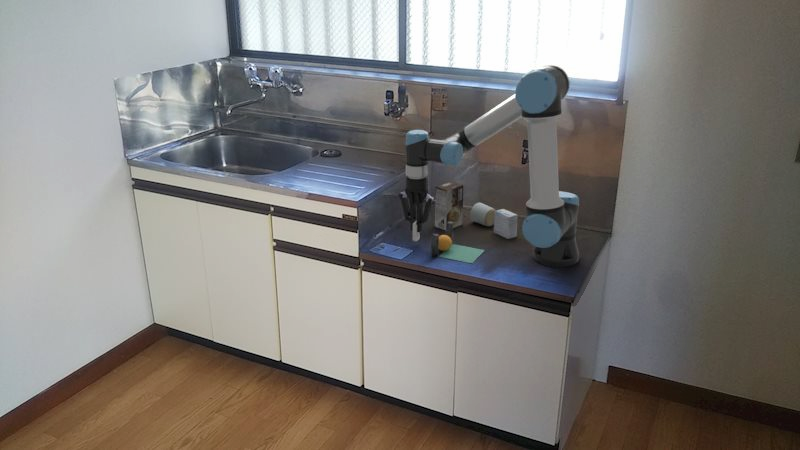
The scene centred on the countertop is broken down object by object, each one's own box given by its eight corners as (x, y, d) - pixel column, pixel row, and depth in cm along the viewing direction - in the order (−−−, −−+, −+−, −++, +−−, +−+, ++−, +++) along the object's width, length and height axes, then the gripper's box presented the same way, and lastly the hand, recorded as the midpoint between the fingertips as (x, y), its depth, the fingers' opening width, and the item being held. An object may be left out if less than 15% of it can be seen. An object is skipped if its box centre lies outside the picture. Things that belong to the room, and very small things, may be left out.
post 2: (454, 242, 242) (454, 221, 239) (451, 245, 240) (451, 224, 237) (447, 241, 243) (447, 220, 241) (444, 244, 241) (444, 223, 238)
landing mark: (484, 250, 236) (484, 250, 236) (472, 263, 226) (472, 263, 226) (452, 244, 241) (452, 244, 241) (438, 256, 231) (438, 256, 231)
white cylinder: (485, 229, 254) (486, 210, 252) (469, 223, 260) (470, 204, 257) (503, 222, 261) (505, 204, 258) (487, 217, 267) (489, 198, 264)
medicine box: (516, 237, 247) (518, 214, 244) (507, 239, 245) (509, 217, 242) (502, 230, 254) (503, 208, 250) (493, 232, 251) (494, 210, 248)
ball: (451, 231, 236) (437, 234, 239) (445, 236, 231) (431, 239, 234) (456, 246, 237) (442, 248, 240) (450, 251, 232) (436, 254, 235)
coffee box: (450, 220, 263) (451, 180, 257) (463, 224, 258) (464, 184, 253) (434, 226, 257) (434, 185, 251) (446, 231, 253) (447, 189, 247)
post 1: (439, 255, 232) (440, 234, 229) (436, 258, 230) (436, 236, 227) (432, 254, 233) (433, 232, 230) (429, 257, 231) (429, 235, 228)
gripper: (438, 175, 232) (437, 239, 241) (404, 170, 237) (404, 233, 246) (429, 181, 226) (428, 246, 234) (394, 176, 231) (394, 240, 240)
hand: (416, 239), depth 240 cm, fingers closed
